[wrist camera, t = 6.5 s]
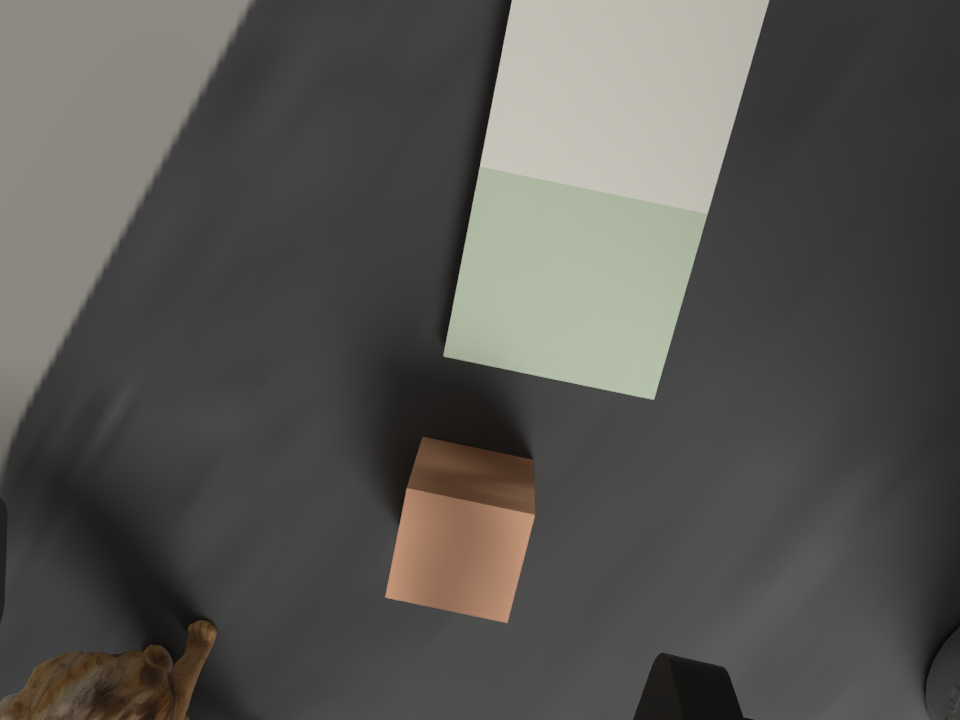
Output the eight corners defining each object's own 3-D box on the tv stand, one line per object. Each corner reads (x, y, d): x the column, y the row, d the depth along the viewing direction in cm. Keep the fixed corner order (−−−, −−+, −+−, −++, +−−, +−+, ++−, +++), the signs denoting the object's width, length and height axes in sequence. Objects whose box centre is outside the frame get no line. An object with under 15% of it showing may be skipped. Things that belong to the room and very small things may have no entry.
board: (763, -2, 26) (770, -5, 25) (650, 392, 30) (654, 399, 30) (523, -53, 26) (522, -57, 25) (445, 350, 30) (443, 356, 29)
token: (533, 458, 32) (535, 514, 27) (509, 555, 33) (507, 622, 29) (422, 435, 31) (406, 487, 27) (403, 533, 33) (385, 597, 29)
